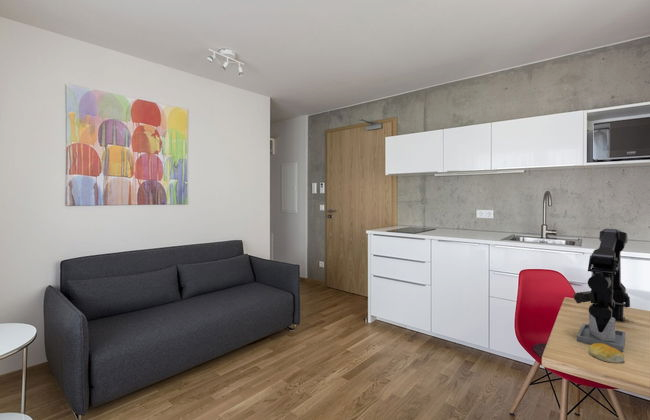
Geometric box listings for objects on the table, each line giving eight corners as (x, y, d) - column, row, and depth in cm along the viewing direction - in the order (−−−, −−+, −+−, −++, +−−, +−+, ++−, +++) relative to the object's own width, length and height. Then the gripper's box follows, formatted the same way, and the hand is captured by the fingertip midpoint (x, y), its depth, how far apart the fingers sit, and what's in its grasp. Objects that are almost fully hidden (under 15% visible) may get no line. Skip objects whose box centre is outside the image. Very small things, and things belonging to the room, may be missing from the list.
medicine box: (615, 342, 118) (616, 318, 118) (601, 341, 119) (601, 317, 119) (601, 333, 126) (602, 311, 125) (588, 332, 127) (589, 310, 126)
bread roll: (605, 351, 113) (605, 339, 113) (629, 363, 104) (630, 351, 104) (581, 351, 113) (581, 339, 113) (604, 363, 104) (604, 351, 104)
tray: (583, 328, 133) (583, 323, 133) (625, 337, 124) (625, 332, 124) (576, 341, 120) (576, 335, 120) (623, 352, 112) (623, 346, 112)
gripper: (579, 279, 134) (578, 316, 134) (571, 287, 121) (570, 329, 121) (615, 284, 126) (614, 324, 127) (611, 293, 113) (610, 338, 113)
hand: (601, 328), depth 122 cm, fingers open, 9 cm apart
